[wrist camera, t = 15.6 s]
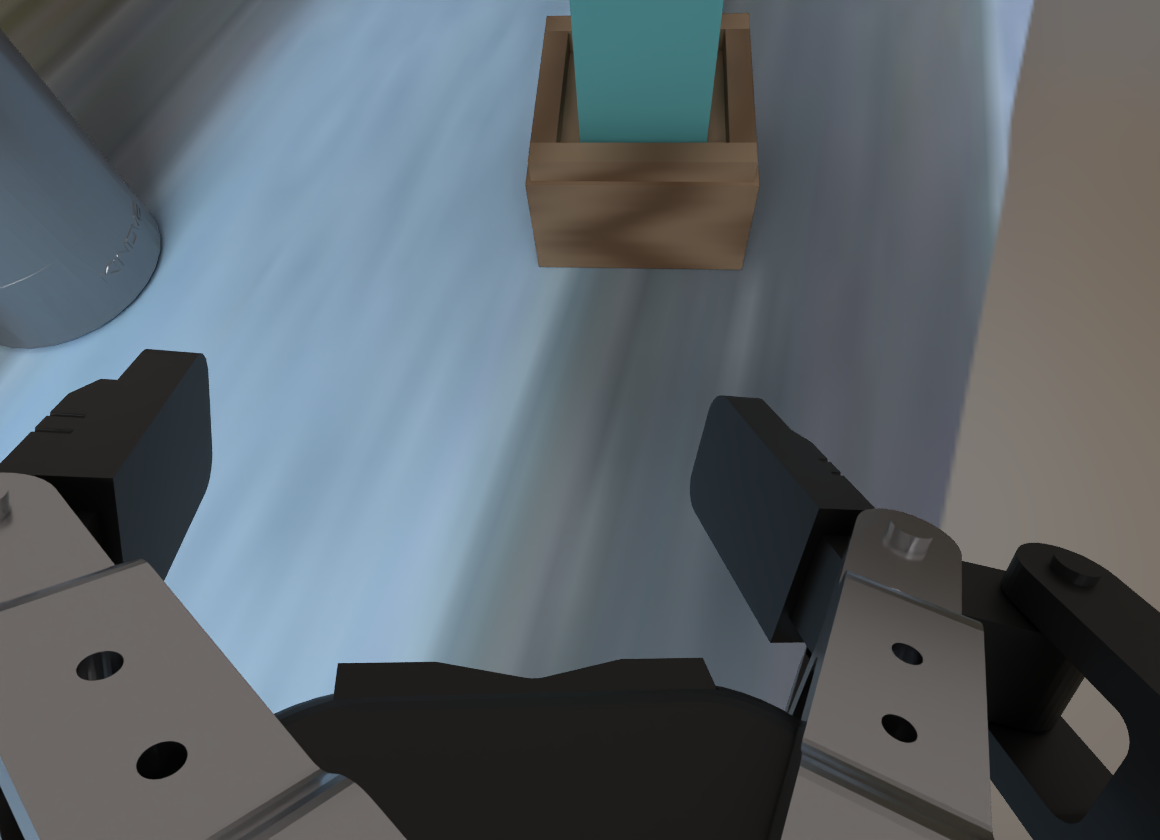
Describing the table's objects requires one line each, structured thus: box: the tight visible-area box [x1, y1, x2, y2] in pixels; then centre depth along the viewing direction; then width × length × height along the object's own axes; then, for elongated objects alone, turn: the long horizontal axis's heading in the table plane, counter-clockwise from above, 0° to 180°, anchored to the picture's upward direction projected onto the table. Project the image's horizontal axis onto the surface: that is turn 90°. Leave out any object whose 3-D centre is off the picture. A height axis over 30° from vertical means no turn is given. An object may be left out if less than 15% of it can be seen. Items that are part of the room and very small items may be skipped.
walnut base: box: [525, 13, 759, 270], centre depth 32 cm, size 9×9×6 cm
